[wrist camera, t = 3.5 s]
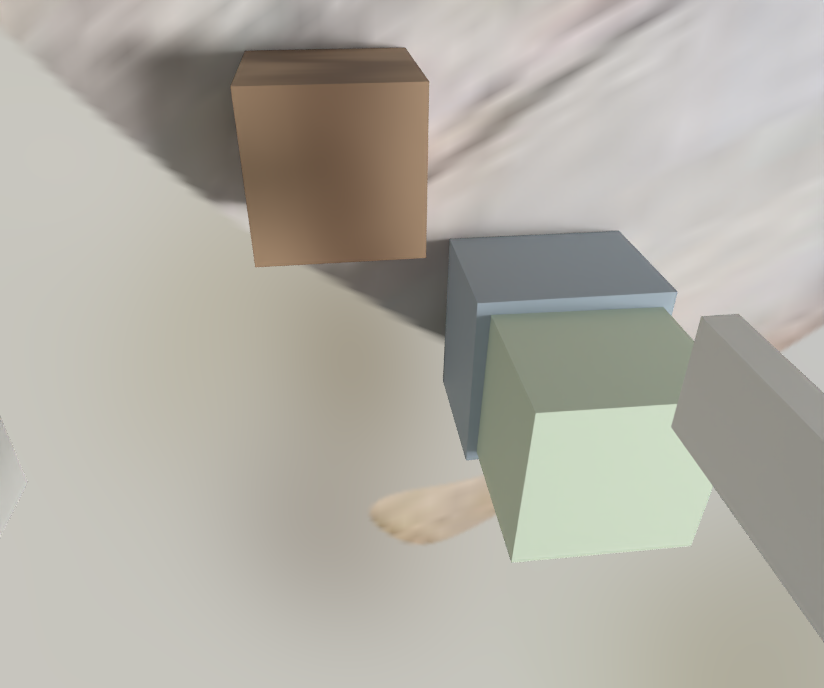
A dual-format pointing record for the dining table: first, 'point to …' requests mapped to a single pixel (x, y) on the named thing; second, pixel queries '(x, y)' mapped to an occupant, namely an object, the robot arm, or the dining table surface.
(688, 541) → the sage block
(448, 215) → the dining table surface
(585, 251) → the slate block
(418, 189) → the walnut block
